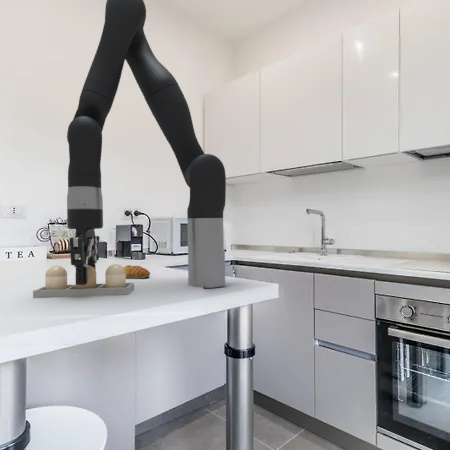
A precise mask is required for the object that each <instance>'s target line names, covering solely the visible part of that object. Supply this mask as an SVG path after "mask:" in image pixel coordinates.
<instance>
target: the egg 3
mask: <svg viewBox="0 0 450 450" xmlns="http://www.w3.org/2000/svg"><path fill="white" fill-rule="evenodd" d="M123 267H124V266H123V265H121V264H118V263H114V264H110V265H109V266H108V267H107V268H106V270H105V275H104V276H105V278H104V279H105V284H106V288H126V283H127V281H126V280H127V278H126V272H125V269H124V268H123Z"/></svg>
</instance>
